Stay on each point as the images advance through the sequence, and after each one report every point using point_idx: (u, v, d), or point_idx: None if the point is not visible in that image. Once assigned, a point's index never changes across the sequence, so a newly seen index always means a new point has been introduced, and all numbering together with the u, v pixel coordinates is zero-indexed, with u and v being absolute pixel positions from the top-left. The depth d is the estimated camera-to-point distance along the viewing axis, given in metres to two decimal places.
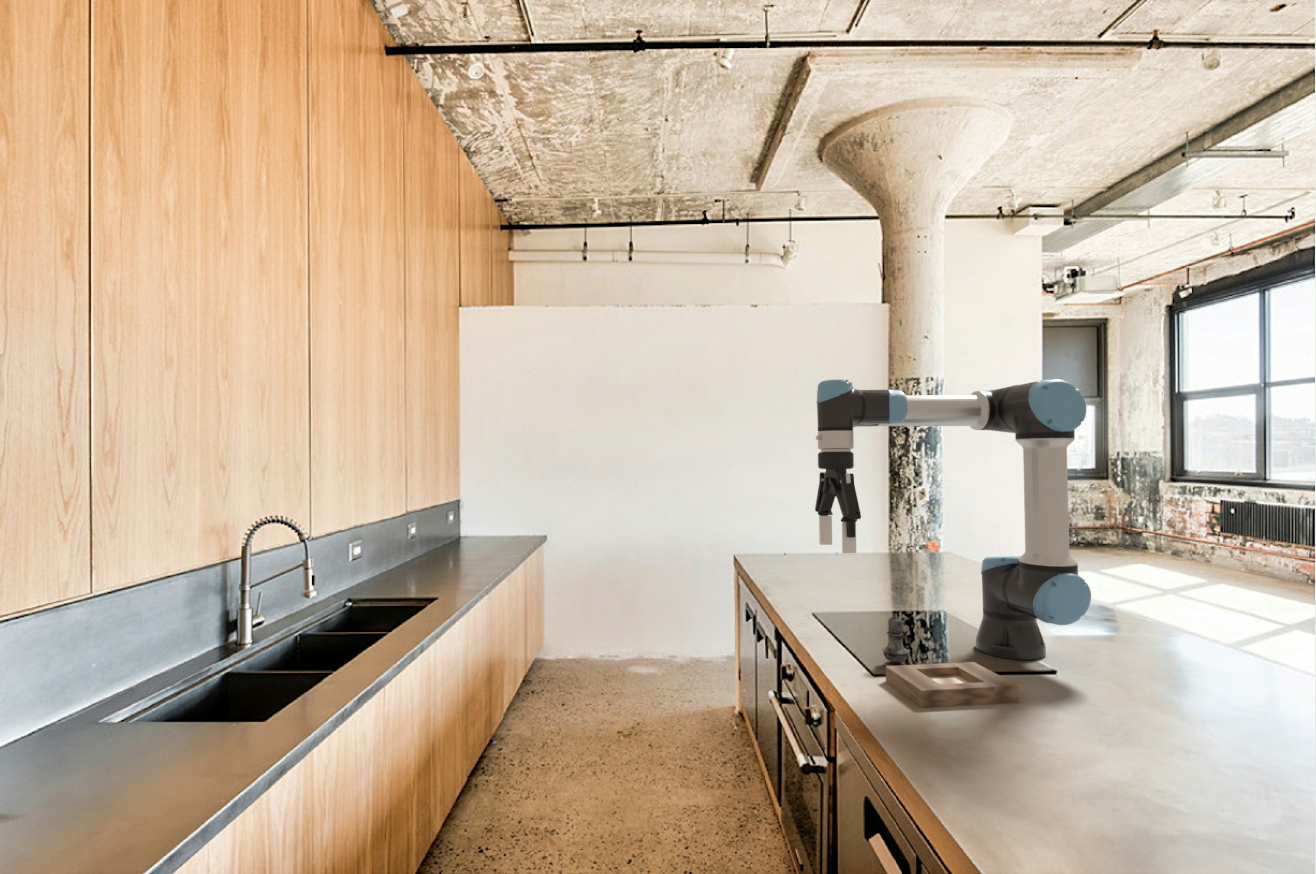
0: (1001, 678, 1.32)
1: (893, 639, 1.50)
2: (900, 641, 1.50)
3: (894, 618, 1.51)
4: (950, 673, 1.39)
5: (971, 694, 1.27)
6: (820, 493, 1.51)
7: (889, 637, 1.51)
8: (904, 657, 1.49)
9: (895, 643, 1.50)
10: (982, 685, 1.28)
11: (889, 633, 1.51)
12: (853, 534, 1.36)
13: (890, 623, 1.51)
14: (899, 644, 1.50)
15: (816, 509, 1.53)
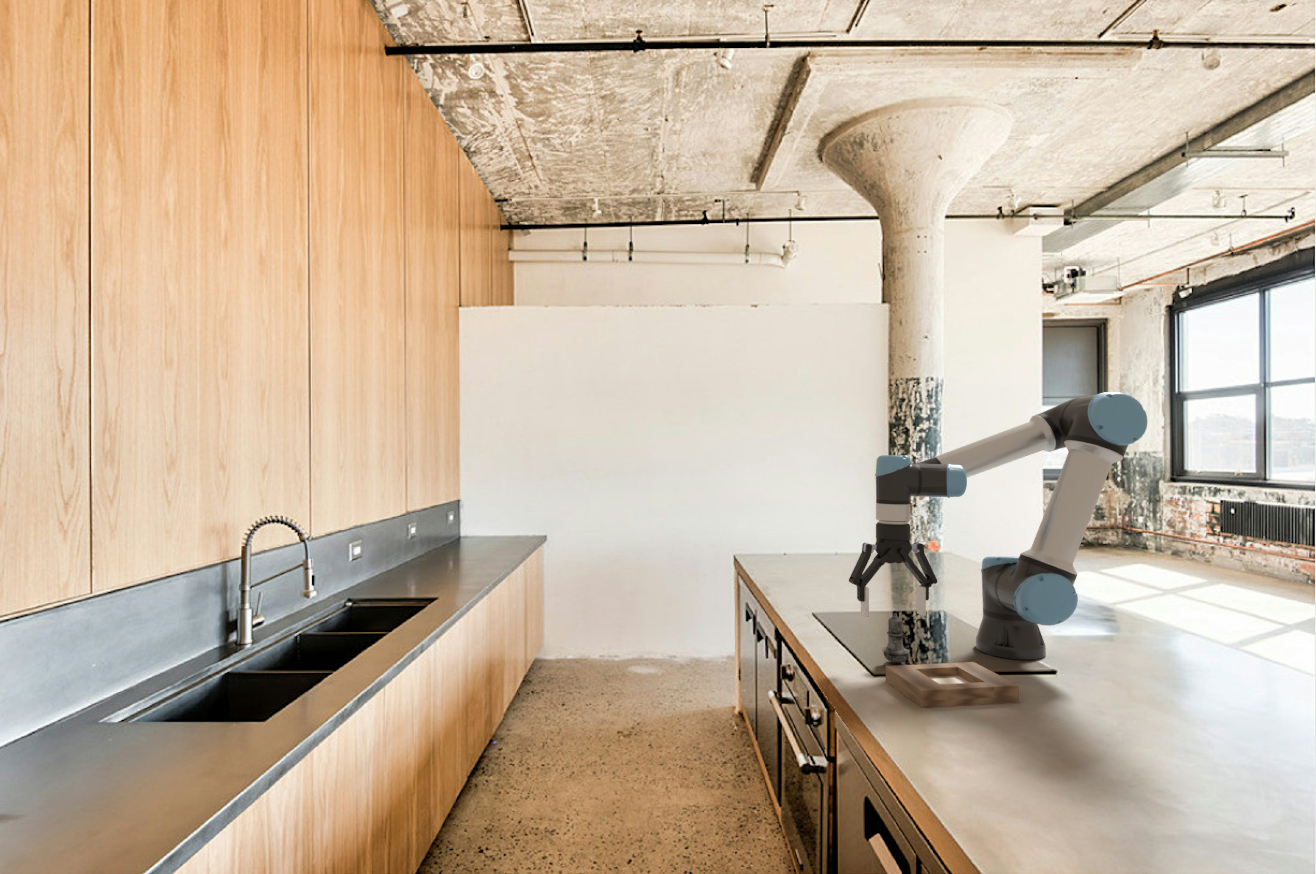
0: (1001, 678, 1.32)
1: (893, 639, 1.50)
2: (900, 641, 1.50)
3: (894, 618, 1.51)
4: (950, 673, 1.39)
5: (971, 694, 1.27)
6: (919, 563, 1.54)
7: (889, 637, 1.51)
8: (904, 657, 1.49)
9: (895, 643, 1.50)
10: (982, 685, 1.28)
11: (889, 633, 1.51)
12: (859, 598, 1.50)
13: (890, 623, 1.51)
14: (899, 644, 1.50)
15: None
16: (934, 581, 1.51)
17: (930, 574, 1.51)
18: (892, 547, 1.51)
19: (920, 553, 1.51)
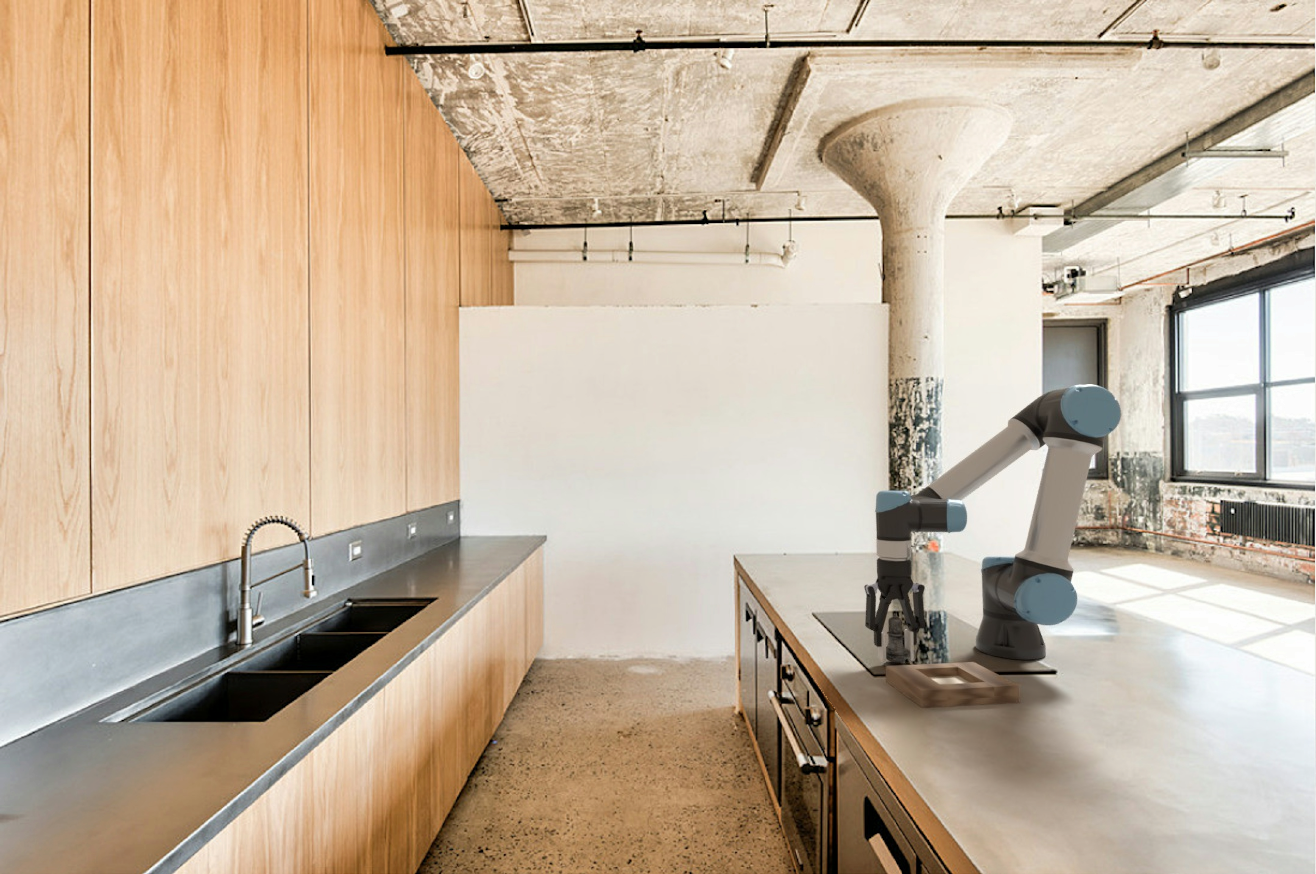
0: (1001, 678, 1.32)
1: (893, 639, 1.50)
2: (900, 641, 1.50)
3: (894, 618, 1.51)
4: (950, 673, 1.39)
5: (971, 694, 1.27)
6: (913, 603, 1.53)
7: (889, 637, 1.51)
8: (904, 657, 1.49)
9: (895, 643, 1.50)
10: (982, 685, 1.28)
11: (889, 633, 1.51)
12: (876, 643, 1.50)
13: (890, 623, 1.51)
14: (899, 644, 1.50)
15: None
16: (922, 625, 1.51)
17: (920, 617, 1.51)
18: (892, 579, 1.50)
19: (918, 594, 1.51)
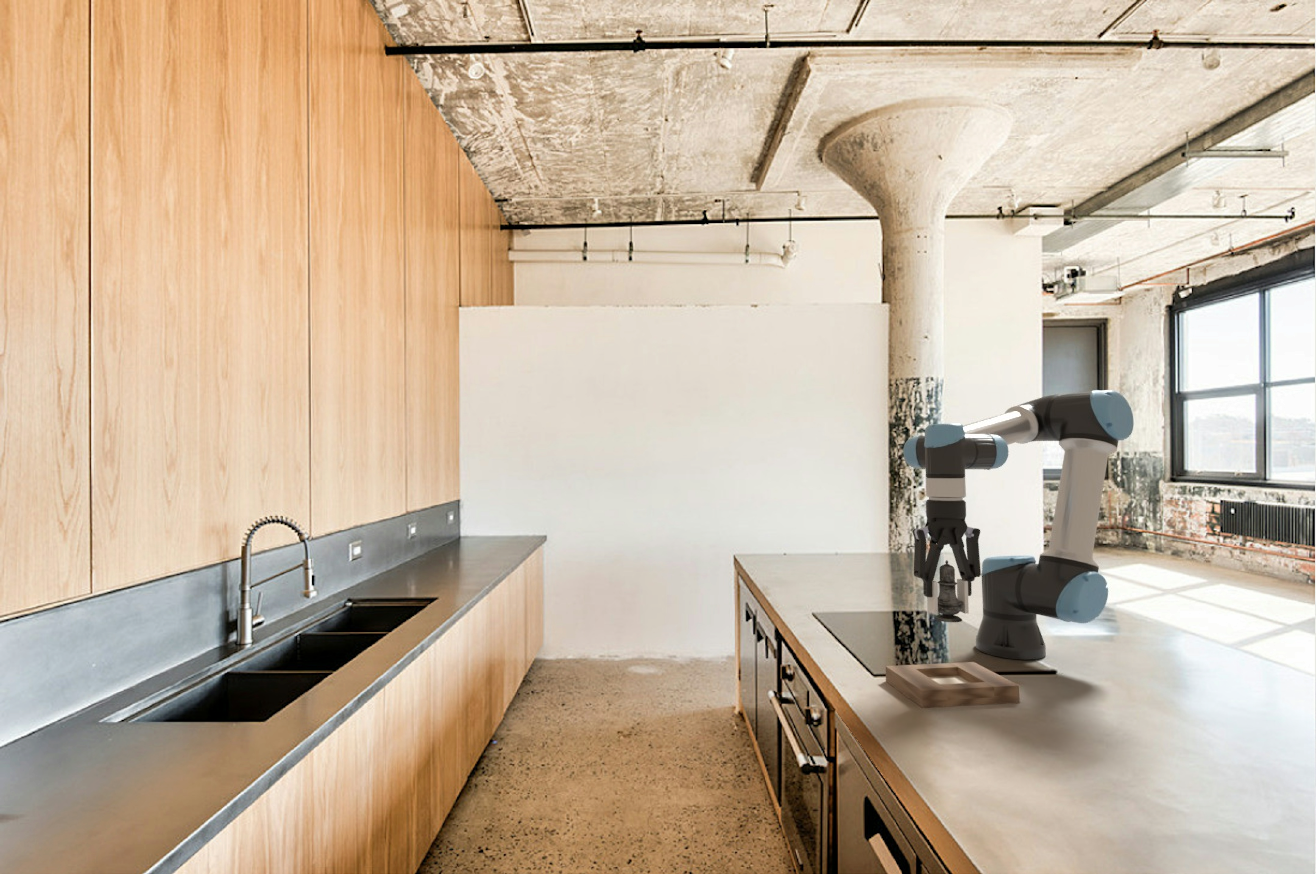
0: (1001, 678, 1.32)
1: (945, 589, 1.34)
2: (953, 591, 1.34)
3: (946, 565, 1.35)
4: (950, 673, 1.39)
5: (971, 694, 1.27)
6: None
7: (941, 587, 1.35)
8: (958, 608, 1.33)
9: (947, 593, 1.34)
10: (982, 685, 1.28)
11: (941, 582, 1.35)
12: (926, 593, 1.34)
13: (942, 571, 1.35)
14: (952, 594, 1.34)
15: None
16: (977, 574, 1.35)
17: (976, 565, 1.35)
18: (944, 522, 1.34)
19: (973, 538, 1.35)
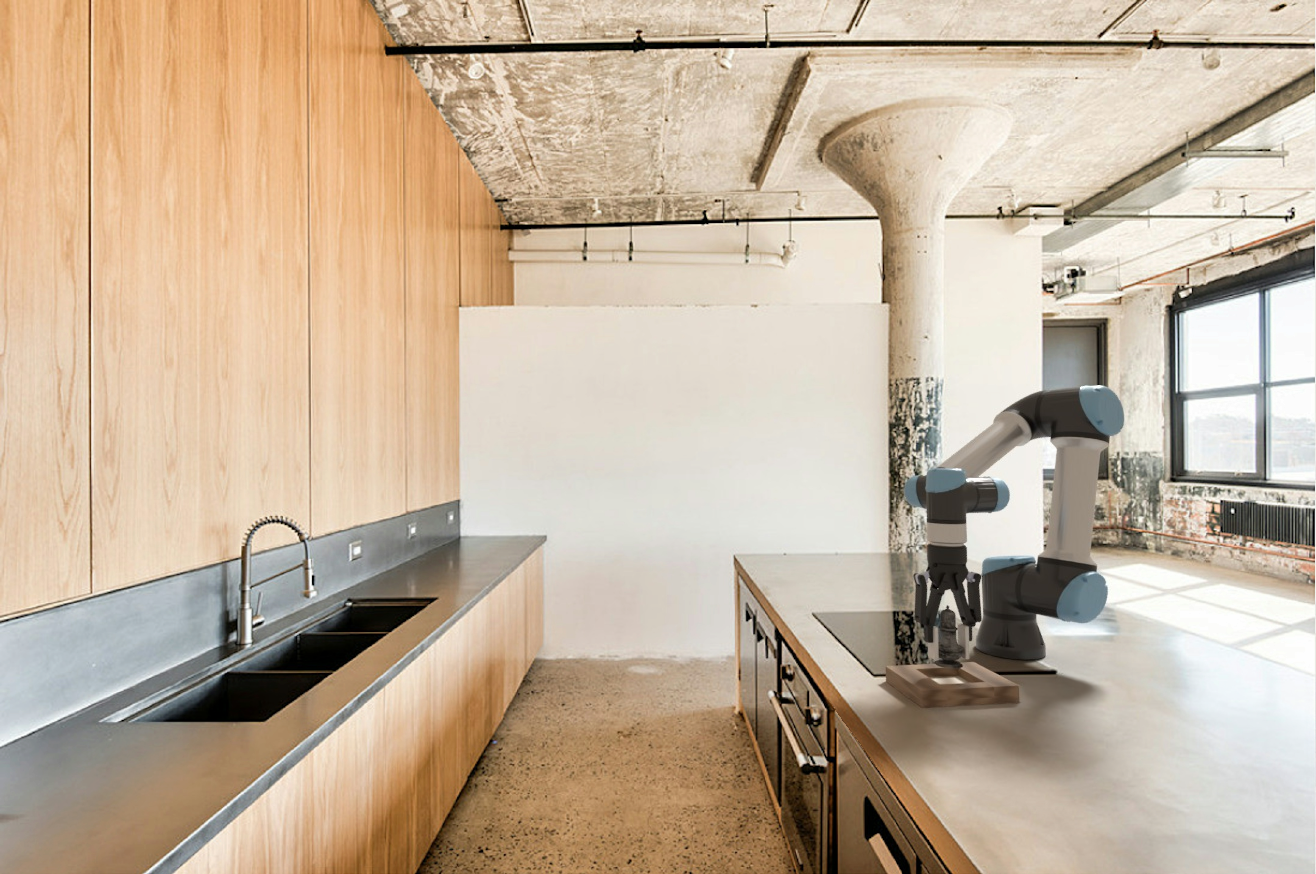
0: (1001, 678, 1.32)
1: (946, 634, 1.34)
2: (954, 636, 1.33)
3: (947, 611, 1.34)
4: (950, 673, 1.39)
5: (971, 694, 1.27)
6: None
7: (941, 632, 1.34)
8: (959, 654, 1.32)
9: (948, 638, 1.33)
10: (982, 685, 1.28)
11: (941, 627, 1.34)
12: (926, 639, 1.34)
13: (942, 616, 1.34)
14: (953, 639, 1.33)
15: None
16: (978, 619, 1.34)
17: (976, 610, 1.34)
18: (945, 567, 1.34)
19: (974, 583, 1.35)
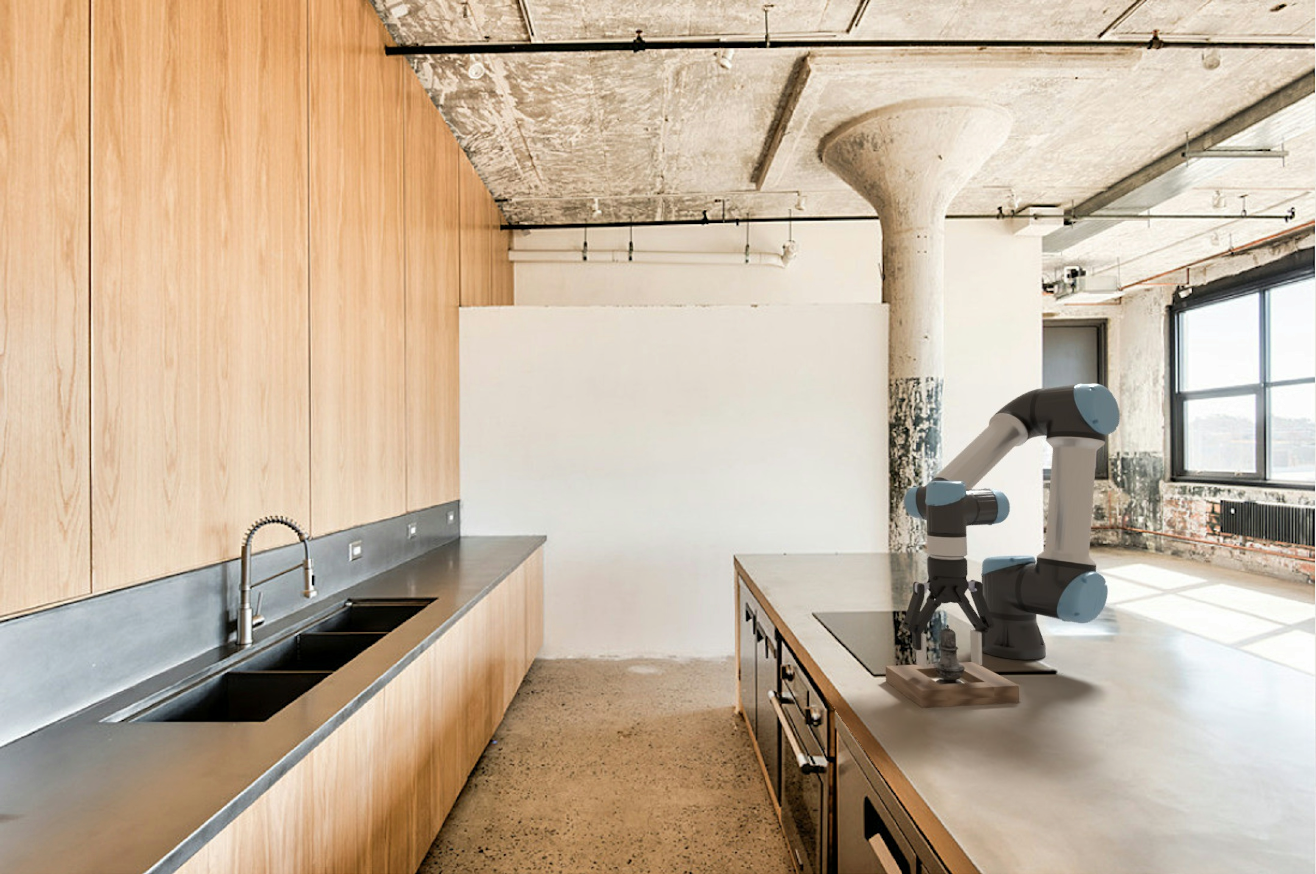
0: (1001, 678, 1.32)
1: (946, 654, 1.34)
2: (954, 656, 1.33)
3: (947, 630, 1.34)
4: None
5: (971, 694, 1.27)
6: (974, 603, 1.37)
7: (942, 652, 1.34)
8: (960, 674, 1.32)
9: (948, 658, 1.33)
10: (982, 685, 1.28)
11: (942, 647, 1.34)
12: (915, 646, 1.33)
13: (943, 636, 1.34)
14: (954, 659, 1.33)
15: None
16: (991, 625, 1.35)
17: (987, 617, 1.35)
18: (947, 584, 1.34)
19: (977, 592, 1.35)
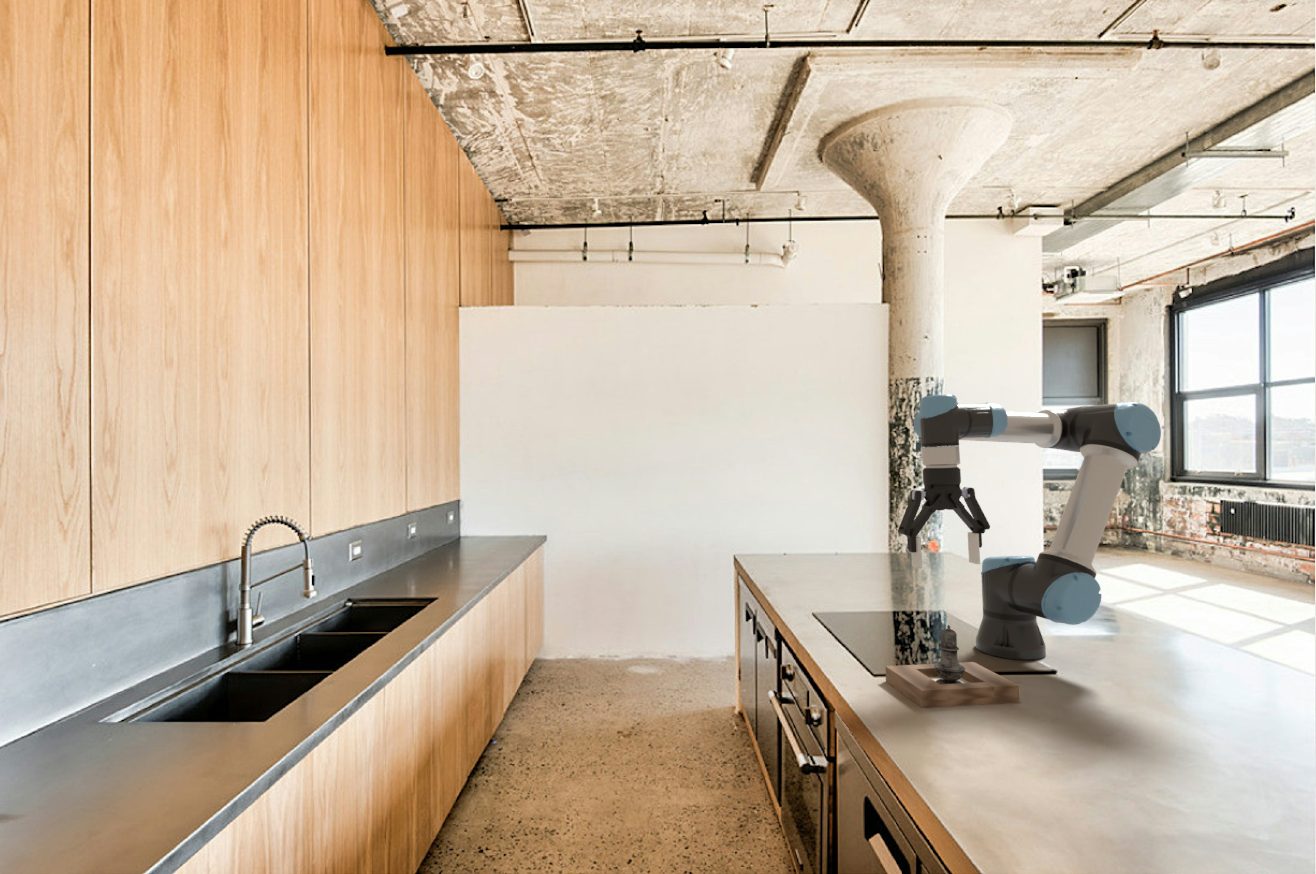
0: (1001, 678, 1.32)
1: (947, 654, 1.33)
2: (955, 656, 1.33)
3: (948, 630, 1.34)
4: None
5: (971, 694, 1.27)
6: (969, 509, 1.45)
7: (942, 652, 1.34)
8: (960, 674, 1.32)
9: (949, 658, 1.33)
10: (982, 685, 1.28)
11: (942, 647, 1.34)
12: (910, 549, 1.41)
13: (944, 636, 1.34)
14: (954, 659, 1.33)
15: None
16: (987, 527, 1.43)
17: (982, 519, 1.43)
18: (942, 493, 1.41)
19: (971, 498, 1.42)
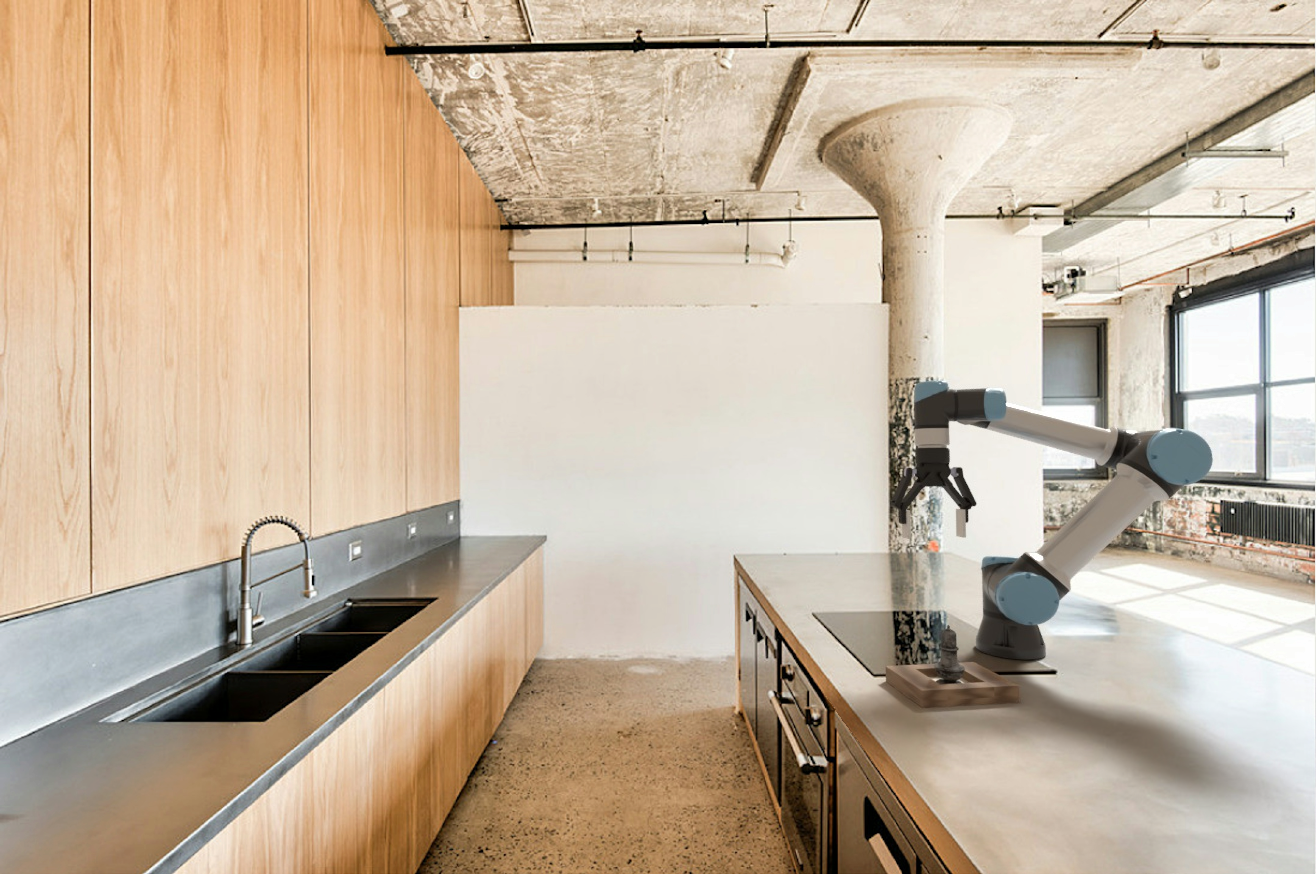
0: (1001, 678, 1.32)
1: (947, 654, 1.33)
2: (955, 656, 1.33)
3: (948, 630, 1.34)
4: None
5: (971, 694, 1.27)
6: (958, 487, 1.57)
7: (942, 652, 1.34)
8: (960, 674, 1.32)
9: (949, 658, 1.33)
10: (982, 685, 1.28)
11: (942, 647, 1.34)
12: (900, 521, 1.54)
13: (943, 636, 1.34)
14: (954, 659, 1.33)
15: None
16: (973, 503, 1.55)
17: (969, 497, 1.55)
18: (932, 471, 1.54)
19: (959, 476, 1.55)
